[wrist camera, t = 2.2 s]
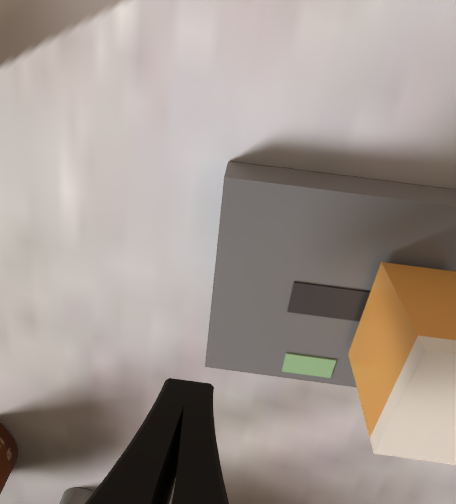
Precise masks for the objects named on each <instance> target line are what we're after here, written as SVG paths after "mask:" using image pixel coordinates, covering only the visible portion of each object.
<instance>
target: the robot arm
mask: <svg viewBox="0 0 456 504" xmlns="http://www.w3.org/2000/svg"><path fill="white" fill-rule="evenodd" d="M213 389H214V387H213V386H212V385H211V384H208V383H201V382H193V381H186V380H179V379H171V378H169V379H167V380H166V381H165V383H164V385H163V387H162V390H161V392H160V394H159V396H158V398H157V399H156V401H155V403H154V405H153V407H152V409H151V410H150V412H149V414H148V415H147V417H146V419H145V420H144V422H143V424H142V425H141V427H140V428H139V430H138V431H137V433H136V435H135V436H134V438H133V439H132V441H131V442H130V444H129V445H128V447H127V448H126V450H125V451H124V453H123V454H122V455H121V457H120V458H119V459H118V461H117V462H116V464H115V465H114V466H113V468H112V469H111V471H110V472H109V473H108V475H107V476H106V477H105V479H104V480H103V481H102V483H101V484H100V485H99V486H98V488H97V489H96V490H95V492H94V493H93V494H92V495H91V497H90V498H89V499H88V500H87V501H86V503H85V504H169V502H170V498H171V494H172V490H173V487H174V483H175V488H174V494H173V499H172V504H229V502H228V498H227V494H226V489H225V485H224V480H223V476H222V471H221V466H220V460H219V454H218V448H217V442H216V435H215V427H214V416H213ZM175 479H176V481H175Z"/></svg>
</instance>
